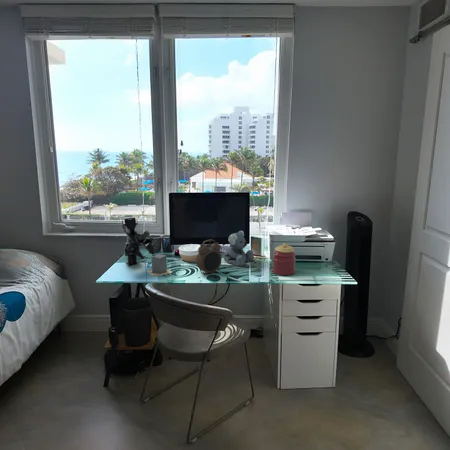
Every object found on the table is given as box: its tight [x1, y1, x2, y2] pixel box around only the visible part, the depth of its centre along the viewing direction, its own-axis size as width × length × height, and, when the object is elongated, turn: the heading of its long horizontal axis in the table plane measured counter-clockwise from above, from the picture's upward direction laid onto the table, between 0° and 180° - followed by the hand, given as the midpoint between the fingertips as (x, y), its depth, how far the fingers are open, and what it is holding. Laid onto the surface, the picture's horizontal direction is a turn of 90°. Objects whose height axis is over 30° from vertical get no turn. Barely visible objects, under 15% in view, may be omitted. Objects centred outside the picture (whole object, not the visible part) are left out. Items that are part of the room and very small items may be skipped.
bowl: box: [178, 243, 201, 263], centre depth 229 cm, size 16×16×8 cm
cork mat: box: [146, 268, 173, 278], centre depth 205 cm, size 11×11×1 cm
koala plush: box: [223, 230, 255, 267], centre depth 223 cm, size 17×18×20 cm
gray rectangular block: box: [151, 253, 168, 274], centre depth 203 cm, size 6×6×10 cm
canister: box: [272, 242, 297, 276], centre depth 203 cm, size 13×13×18 cm
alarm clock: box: [195, 239, 222, 276], centre depth 201 cm, size 15×7×20 cm, turn 126°
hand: (148, 256), depth 207 cm, fingers open, 9 cm apart
